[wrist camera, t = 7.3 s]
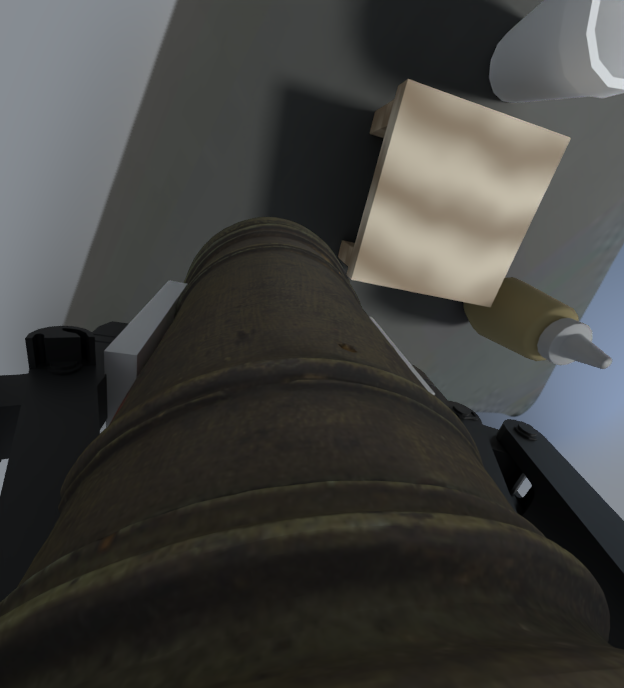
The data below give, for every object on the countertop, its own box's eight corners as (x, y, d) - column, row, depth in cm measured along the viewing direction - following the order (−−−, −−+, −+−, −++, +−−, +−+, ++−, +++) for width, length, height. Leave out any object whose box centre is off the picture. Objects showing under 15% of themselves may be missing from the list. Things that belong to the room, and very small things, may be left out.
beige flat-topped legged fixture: (372, 104, 33) (407, 78, 25) (503, 147, 37) (570, 137, 29) (332, 260, 40) (351, 279, 32) (447, 284, 43) (490, 307, 35)
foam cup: (479, 134, 36) (584, 111, 24) (468, 28, 32) (588, -61, 20) (562, 98, 36) (708, 58, 24) (562, -14, 31) (739, -129, 20)
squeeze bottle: (509, 317, 47) (638, 387, 31) (455, 332, 47) (557, 410, 31) (512, 263, 43) (660, 309, 27) (453, 279, 43) (568, 336, 27)
